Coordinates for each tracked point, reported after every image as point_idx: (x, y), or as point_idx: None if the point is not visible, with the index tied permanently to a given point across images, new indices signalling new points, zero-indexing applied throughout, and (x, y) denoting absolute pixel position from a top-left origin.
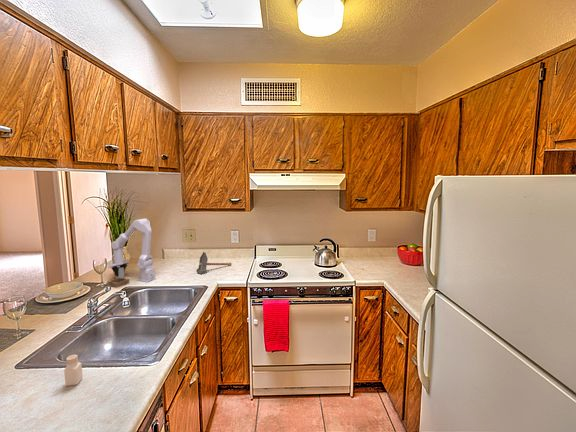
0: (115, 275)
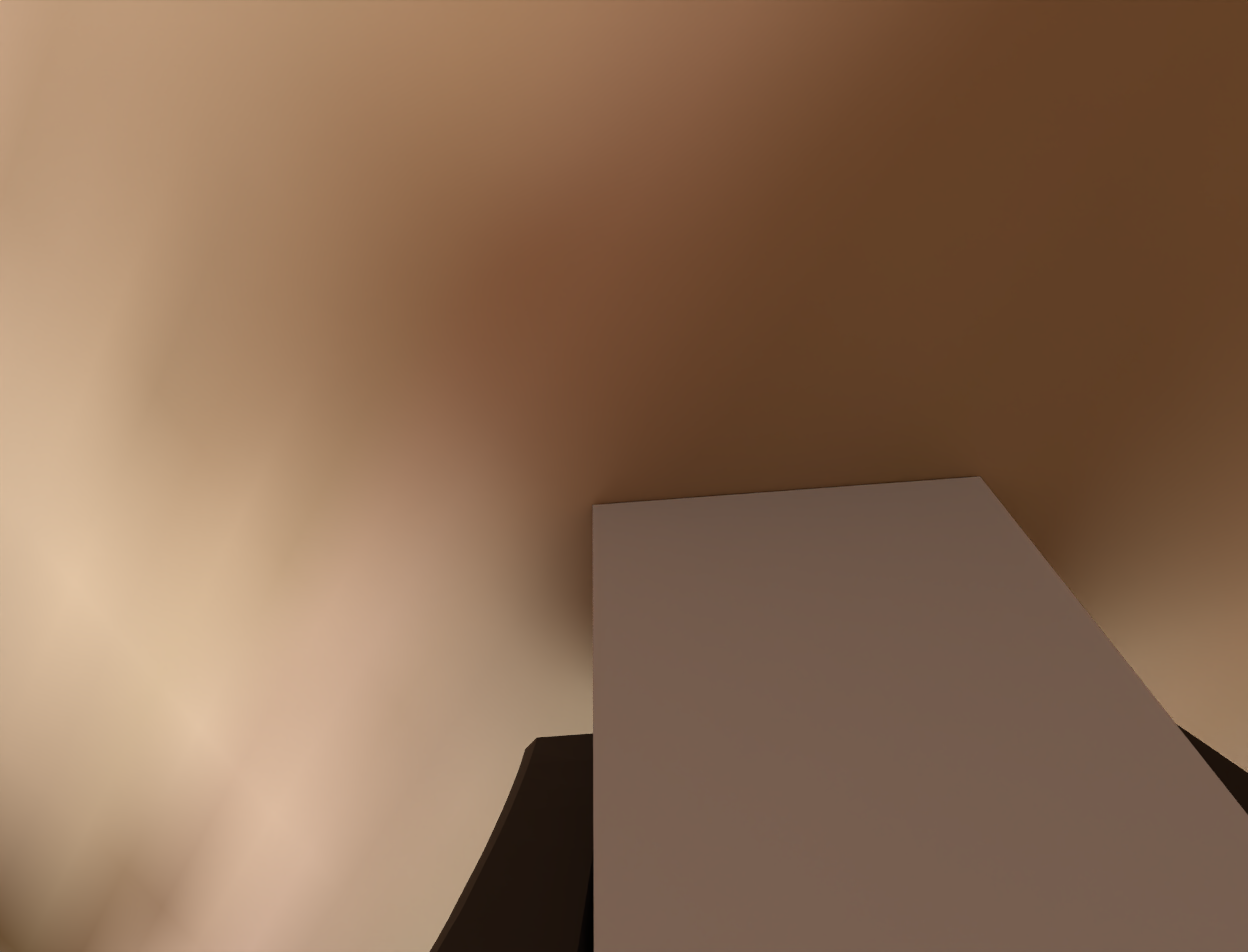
0: (518, 778)
